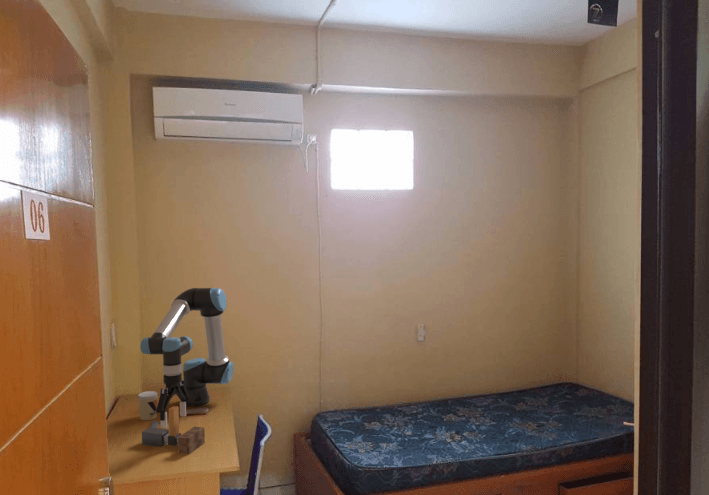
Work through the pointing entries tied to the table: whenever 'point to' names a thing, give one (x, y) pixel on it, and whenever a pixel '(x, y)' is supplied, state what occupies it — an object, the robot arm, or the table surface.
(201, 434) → the walnut socket
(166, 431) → the dark grey block
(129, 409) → the table surface
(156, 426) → the half round rod
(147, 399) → the coffee cup
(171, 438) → the sliding bar
